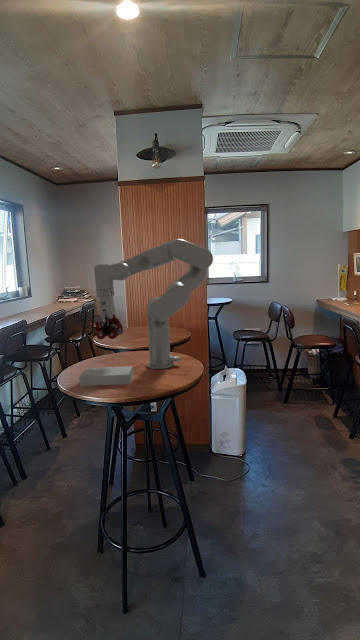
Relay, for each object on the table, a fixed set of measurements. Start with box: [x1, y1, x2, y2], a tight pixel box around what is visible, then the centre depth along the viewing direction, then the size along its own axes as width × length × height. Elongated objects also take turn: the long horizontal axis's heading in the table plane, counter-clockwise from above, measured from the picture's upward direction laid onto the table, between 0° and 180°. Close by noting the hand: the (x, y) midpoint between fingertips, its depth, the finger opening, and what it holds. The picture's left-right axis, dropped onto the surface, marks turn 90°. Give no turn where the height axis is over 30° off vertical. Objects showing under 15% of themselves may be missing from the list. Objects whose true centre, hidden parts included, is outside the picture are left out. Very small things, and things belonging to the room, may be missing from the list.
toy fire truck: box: [93, 314, 124, 340], centre depth 164 cm, size 7×12×10 cm, turn 83°
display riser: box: [78, 365, 134, 387], centre depth 153 cm, size 20×11×4 cm, turn 90°
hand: (108, 332), depth 164 cm, fingers closed on toy fire truck, 7 cm apart
